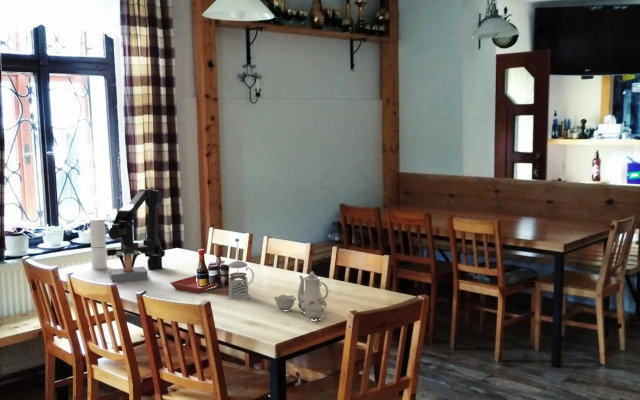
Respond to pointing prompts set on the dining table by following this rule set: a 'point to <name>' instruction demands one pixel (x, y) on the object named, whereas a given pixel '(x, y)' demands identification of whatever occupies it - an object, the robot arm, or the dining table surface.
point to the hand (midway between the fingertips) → (128, 268)
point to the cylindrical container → (98, 243)
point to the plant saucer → (190, 285)
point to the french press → (238, 281)
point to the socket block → (128, 274)
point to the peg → (128, 262)
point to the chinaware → (306, 298)
